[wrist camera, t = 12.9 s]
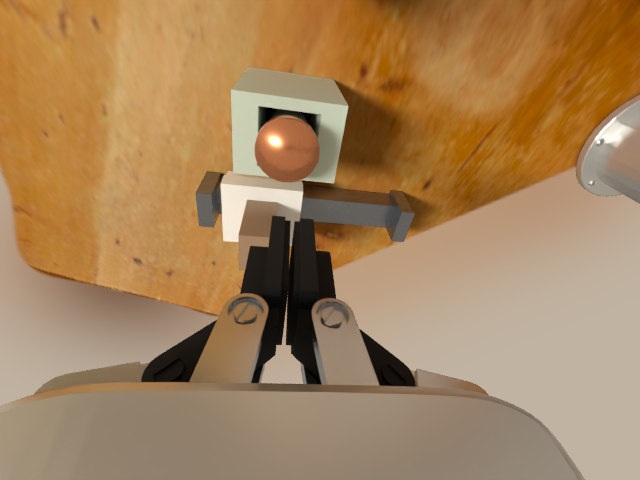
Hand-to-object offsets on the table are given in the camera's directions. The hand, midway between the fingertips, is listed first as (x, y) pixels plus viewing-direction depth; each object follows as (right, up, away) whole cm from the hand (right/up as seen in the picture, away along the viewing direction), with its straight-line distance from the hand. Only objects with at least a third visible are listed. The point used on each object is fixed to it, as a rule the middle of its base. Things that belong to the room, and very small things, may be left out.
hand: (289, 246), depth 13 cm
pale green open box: (-2, +14, +18) cm, 22 cm away
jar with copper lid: (-1, +10, +12) cm, 16 cm away
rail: (0, +6, +24) cm, 25 cm away
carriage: (-5, +5, +22) cm, 23 cm away
